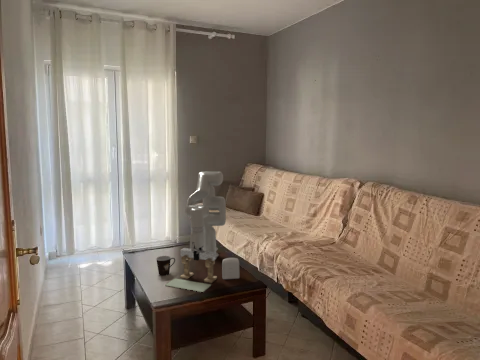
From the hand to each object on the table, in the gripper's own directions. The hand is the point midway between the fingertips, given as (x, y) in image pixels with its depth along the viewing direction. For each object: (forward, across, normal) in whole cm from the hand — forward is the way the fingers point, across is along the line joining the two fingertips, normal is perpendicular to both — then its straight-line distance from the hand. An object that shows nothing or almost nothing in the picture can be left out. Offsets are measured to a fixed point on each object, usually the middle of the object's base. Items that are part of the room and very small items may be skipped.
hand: (198, 258), depth 212 cm
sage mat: (+12, +13, 0) cm, 17 cm away
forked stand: (+12, +1, 0) cm, 12 cm away
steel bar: (-1, 0, 0) cm, 1 cm away
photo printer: (+12, -6, +18) cm, 23 cm away
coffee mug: (+12, +2, -22) cm, 25 cm away
